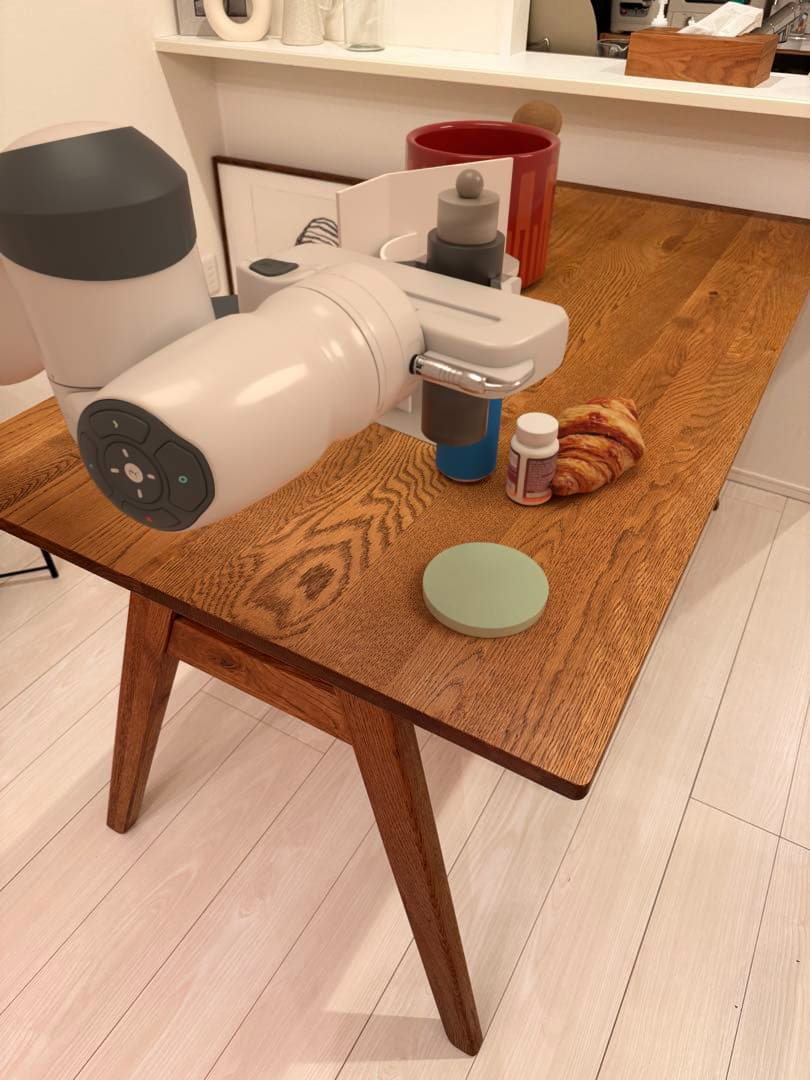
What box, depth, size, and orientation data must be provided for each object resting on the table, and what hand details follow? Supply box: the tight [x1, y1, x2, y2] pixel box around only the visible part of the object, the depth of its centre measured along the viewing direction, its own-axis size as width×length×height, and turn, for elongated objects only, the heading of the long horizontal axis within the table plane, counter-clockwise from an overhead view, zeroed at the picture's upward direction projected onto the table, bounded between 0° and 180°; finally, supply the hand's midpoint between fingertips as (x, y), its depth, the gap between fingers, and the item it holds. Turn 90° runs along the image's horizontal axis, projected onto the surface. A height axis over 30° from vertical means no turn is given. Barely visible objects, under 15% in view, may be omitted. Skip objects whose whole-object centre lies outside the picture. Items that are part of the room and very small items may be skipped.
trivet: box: [421, 541, 550, 639], centre depth 67 cm, size 11×11×1 cm
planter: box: [404, 119, 562, 290], centre depth 119 cm, size 23×23×20 cm
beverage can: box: [435, 398, 504, 483], centre depth 78 cm, size 6×6×12 cm
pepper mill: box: [421, 169, 505, 447], centre depth 54 cm, size 5×5×19 cm
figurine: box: [511, 99, 563, 136], centre depth 141 cm, size 9×7×20 cm
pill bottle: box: [505, 411, 559, 506], centre depth 76 cm, size 5×5×8 cm
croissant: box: [549, 396, 646, 497], centre depth 82 cm, size 21×10×8 cm, turn 149°
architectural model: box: [335, 157, 519, 447], centre depth 91 cm, size 28×21×23 cm
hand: (469, 275), depth 53 cm, fingers closed on pepper mill, 5 cm apart
